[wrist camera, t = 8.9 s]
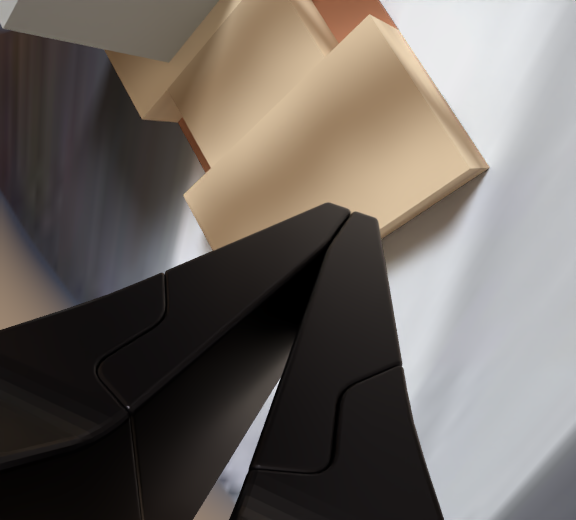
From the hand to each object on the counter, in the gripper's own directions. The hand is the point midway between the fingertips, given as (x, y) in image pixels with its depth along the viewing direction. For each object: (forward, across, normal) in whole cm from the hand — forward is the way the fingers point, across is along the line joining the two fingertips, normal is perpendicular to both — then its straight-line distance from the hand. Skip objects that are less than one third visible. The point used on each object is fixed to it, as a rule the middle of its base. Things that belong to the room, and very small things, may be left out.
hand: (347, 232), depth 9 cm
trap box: (+14, +7, +4) cm, 16 cm away
